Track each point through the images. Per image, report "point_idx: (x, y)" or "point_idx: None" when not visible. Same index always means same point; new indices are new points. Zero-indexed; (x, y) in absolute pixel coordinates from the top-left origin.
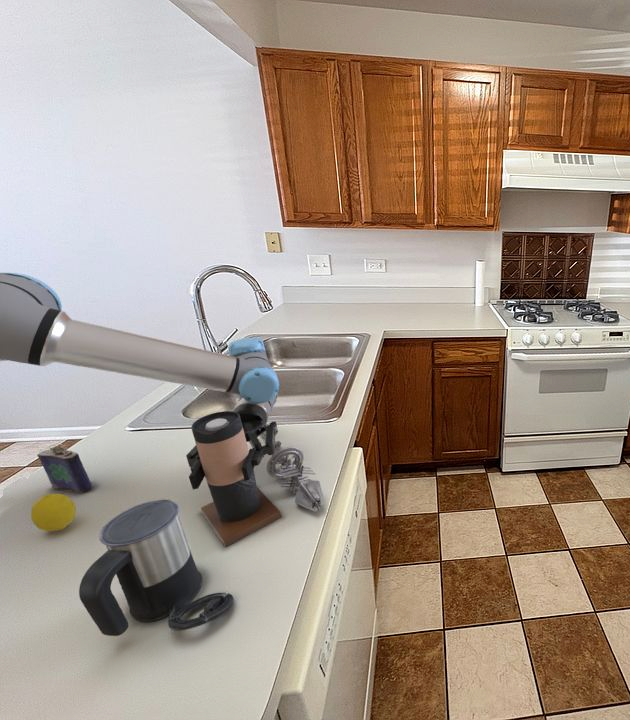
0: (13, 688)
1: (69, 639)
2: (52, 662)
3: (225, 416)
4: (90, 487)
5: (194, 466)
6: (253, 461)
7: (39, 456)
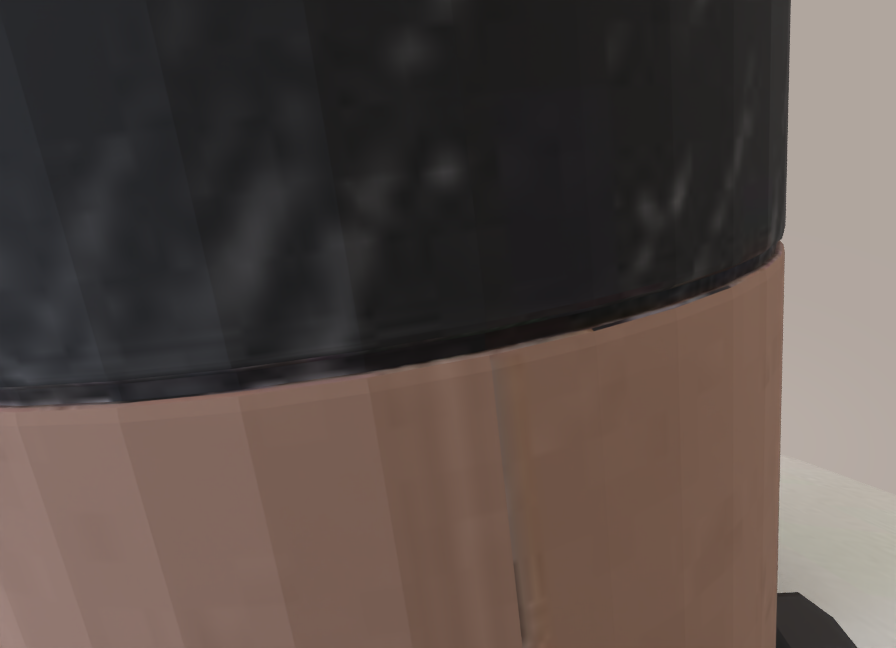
0: (816, 469)
1: (822, 526)
2: (793, 493)
3: (27, 21)
4: None
5: (806, 641)
6: None
7: None
